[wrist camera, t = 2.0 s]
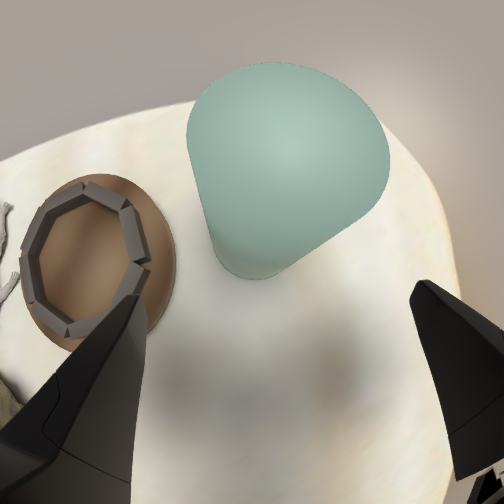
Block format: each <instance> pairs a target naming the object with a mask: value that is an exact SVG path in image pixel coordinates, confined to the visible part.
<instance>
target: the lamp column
mask: <svg viewBox="0 0 504 504" xmlns="http://www.w3.org/2000/svg"><path fill="white" fill-rule="evenodd" d="M186 138H187V148H188V152H189V157H190V161H191V165H192V169H193V173H194V177H195V180H196V184H197V188H198V192H199V196H200V200H201V203H202V207H203V211H204V214H205V218H206V222H207V225H208V229H209V233H210V236H211V240H212V243H213V247H214V251H215V253H216V255H217V257H218V259H219V261H220V262H221V263H222V265H223V266H224V267H225V268H226V269H227V270H229V271H230V272H231V273H233V274H235V275H237V276H239V277H242V278H245V279H251V280H260V279H266V278H269V277H272V276H274V275H276V274H277V273H279V272H281V271H282V270H284V269H285V268H287V267H288V266H290V265H291V264H293V263H294V262H296V261H297V260H299V259H300V258H302V257H303V256H305V255H307V254H308V253H310V252H311V251H313V250H314V249H316V248H317V247H319V246H320V245H322V244H323V243H325V242H326V241H328V240H329V239H331V238H332V237H333V236H335V235H336V234H338V233H339V232H341V231H342V230H344V229H345V228H347V227H348V226H350V225H351V224H353V223H354V222H356V221H357V220H358V219H360V218H361V217H363V216H364V215H365V214H366V213H367V212H369V211H370V210H371V209H372V208H373V207H374V205H375V204H376V203H377V201H378V200H379V199H380V197H381V195H382V193H383V191H384V189H385V187H386V184H387V181H388V177H389V171H390V153H389V146H388V143H387V139H386V136H385V133H384V131H383V128H382V126H381V124H380V122H379V121H378V119H377V117H376V116H375V114H374V113H373V111H372V110H371V109H370V107H369V106H368V105H367V104H366V103H365V102H364V100H363V99H362V98H361V97H360V96H358V95H357V94H356V93H355V92H354V91H353V90H352V89H350V88H349V87H348V86H346V85H345V84H343V83H342V82H340V81H339V80H337V79H335V78H333V77H331V76H329V75H327V74H325V73H322V72H320V71H318V70H315V69H312V68H309V67H305V66H301V65H296V64H289V63H261V64H254V65H249V66H245V67H242V68H239V69H236V70H234V71H232V72H230V73H227V74H226V75H224V76H222V77H221V78H219V79H217V80H216V81H215V82H213V83H212V84H211V85H210V86H209V87H208V88H207V89H206V90H205V91H204V92H203V93H202V94H201V95H200V97H199V98H198V100H197V101H196V103H195V104H194V107H193V109H192V111H191V113H190V116H189V120H188V124H187V133H186Z"/></svg>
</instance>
